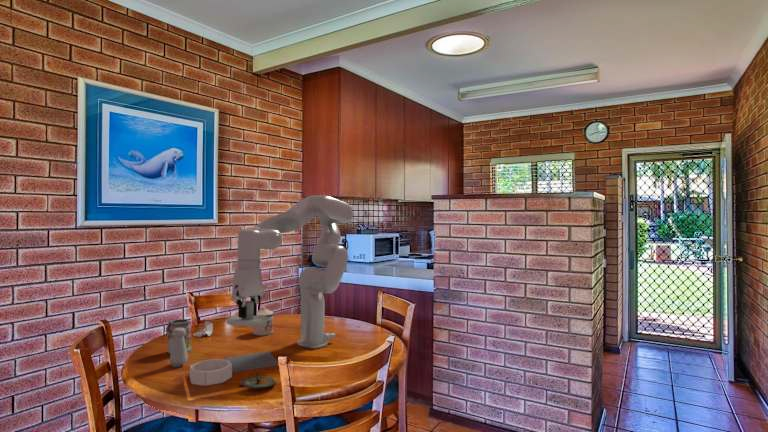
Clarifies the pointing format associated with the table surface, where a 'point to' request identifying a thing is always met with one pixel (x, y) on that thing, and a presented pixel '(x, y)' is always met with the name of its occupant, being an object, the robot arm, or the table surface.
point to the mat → (252, 361)
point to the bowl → (210, 372)
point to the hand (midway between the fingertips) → (247, 315)
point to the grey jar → (179, 324)
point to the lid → (252, 385)
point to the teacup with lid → (265, 327)
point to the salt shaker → (178, 348)
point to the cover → (247, 317)
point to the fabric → (205, 330)
